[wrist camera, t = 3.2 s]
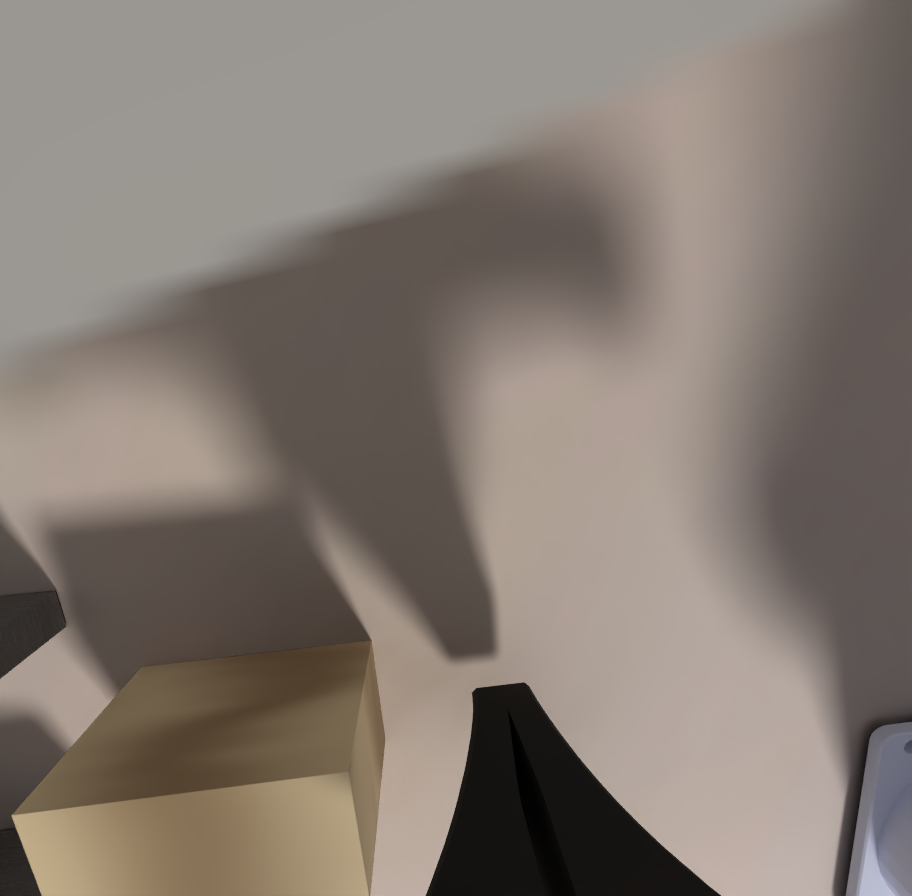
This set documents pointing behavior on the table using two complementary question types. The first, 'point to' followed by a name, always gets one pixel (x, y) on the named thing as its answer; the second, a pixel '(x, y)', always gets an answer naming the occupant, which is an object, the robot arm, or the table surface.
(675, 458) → the table surface
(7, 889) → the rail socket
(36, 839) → the tan block
